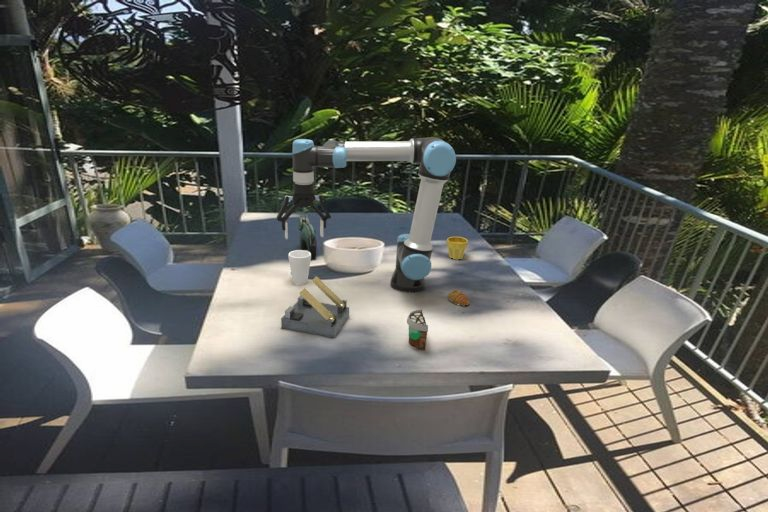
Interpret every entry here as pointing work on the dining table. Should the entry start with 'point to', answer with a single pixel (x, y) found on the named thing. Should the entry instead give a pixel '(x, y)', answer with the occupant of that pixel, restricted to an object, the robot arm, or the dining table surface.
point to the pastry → (458, 298)
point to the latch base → (314, 318)
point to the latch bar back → (328, 292)
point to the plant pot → (456, 247)
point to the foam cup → (299, 266)
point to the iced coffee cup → (417, 329)
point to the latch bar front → (316, 304)
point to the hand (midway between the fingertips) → (304, 237)
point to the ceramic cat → (307, 236)
